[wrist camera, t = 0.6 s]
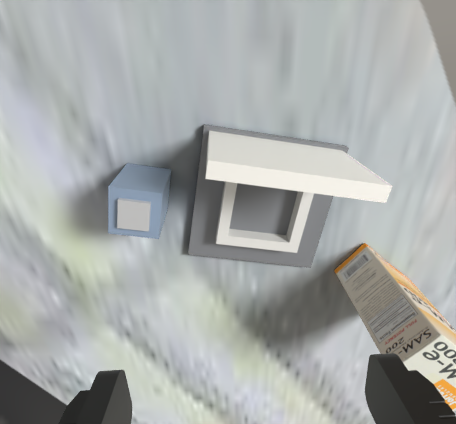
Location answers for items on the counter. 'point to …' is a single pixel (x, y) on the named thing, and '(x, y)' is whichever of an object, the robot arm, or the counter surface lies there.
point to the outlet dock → (271, 195)
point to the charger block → (138, 201)
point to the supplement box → (401, 319)
